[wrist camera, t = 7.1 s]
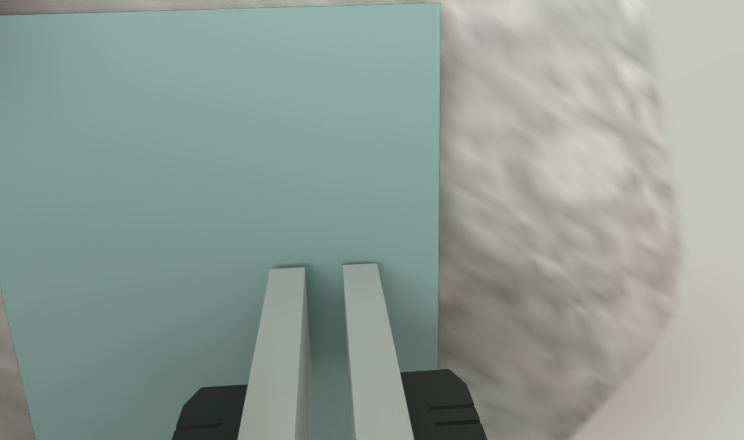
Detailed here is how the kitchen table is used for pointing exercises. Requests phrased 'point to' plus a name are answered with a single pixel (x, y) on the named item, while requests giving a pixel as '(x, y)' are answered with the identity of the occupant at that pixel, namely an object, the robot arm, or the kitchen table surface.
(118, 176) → the teal rectangular plate
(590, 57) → the kitchen table surface
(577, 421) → the kitchen table surface
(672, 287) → the kitchen table surface
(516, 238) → the kitchen table surface
